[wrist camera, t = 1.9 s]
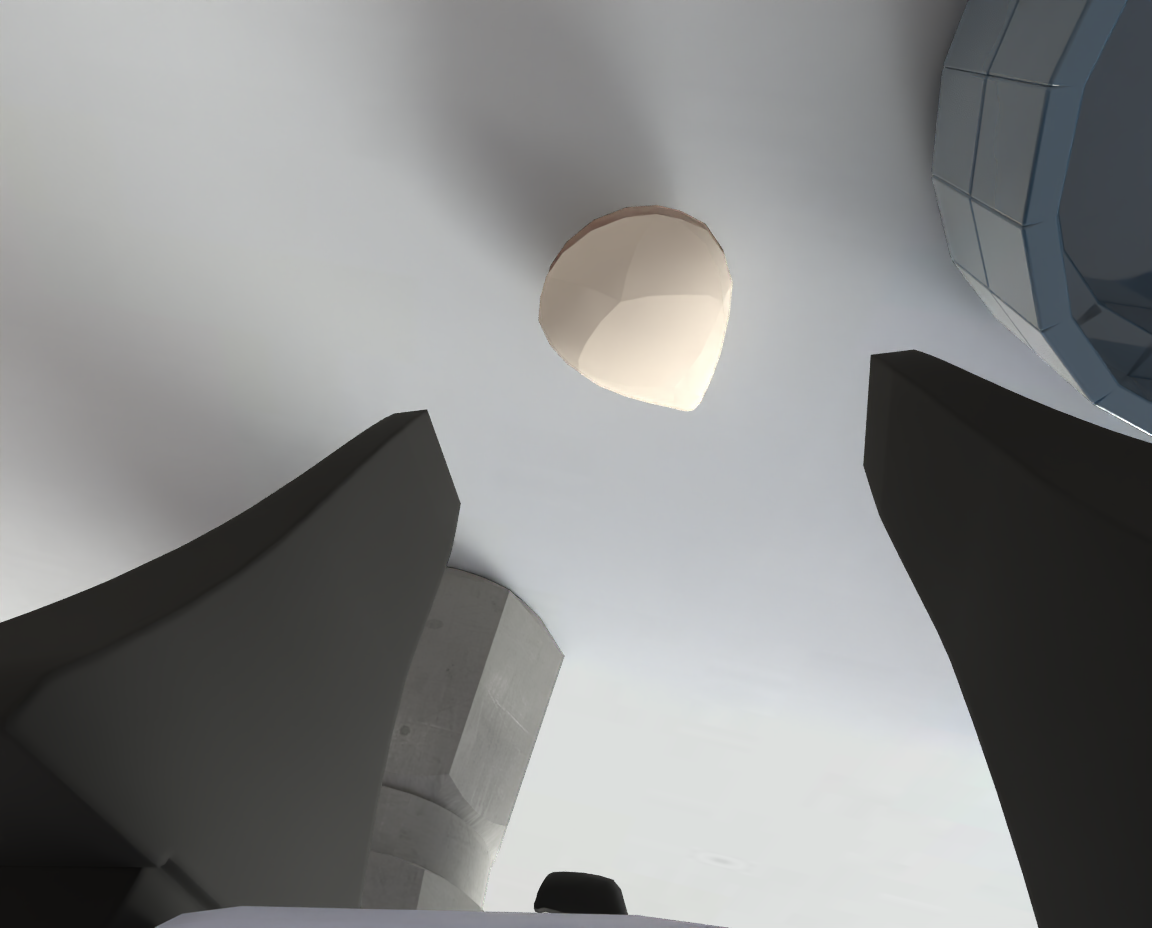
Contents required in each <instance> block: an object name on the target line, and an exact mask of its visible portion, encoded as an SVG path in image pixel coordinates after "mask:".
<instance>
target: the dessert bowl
mask: <svg viewBox="0 0 1152 928" xmlns="http://www.w3.org/2000/svg"><path fill="white" fill-rule="evenodd" d="M943 66H944V67H945V68H943V71H942V77H941V86H940V96H939V105H938V115H937V124H936V134H935V143H934V153H933V162H932V174H933V175H932V182H933V186H934V190H935V194H936V198H937V203H938V207H939V211H940V215H941V219H942V224H943V228H944V232H945V236H946V240H947V245H948V249H949V253H950V257H951V258H952V259H953V263H954V264H955V265H956V267H957V268H958V269H959V271H960V272H961V273H962V275H963V276H964V277H965V279H966V280H967V281H968V283H969V284H970V285H971V287H972V288H973V289H974V291H975V292H976V293H977V295H978V296H979V297H980V299H981V300H982V301H983V303H984V304H985V305H986V307H987V308H988V309H989V311H990V312H991V313H992V315H993V316H994V317H995V318H996V319H997V320H998V321H999V322H1000V323H1002V324H1003V325H1004V326H1005V327H1006V328H1007V329H1008V330H1009V331H1011V332H1012V333H1013V334H1014V335H1015V336H1016V337H1017V338H1018V339H1020V340H1021V341H1022V342H1023V343H1024V344H1025V345H1026V346H1027V347H1029V348H1030V349H1031V350H1032V351H1033V352H1034V353H1035V354H1036V355H1038V356H1039V357H1040V358H1041V359H1042V360H1043V361H1044V362H1045V363H1047V364H1048V365H1049V366H1050V367H1051V368H1052V369H1053V370H1054V371H1056V372H1057V373H1058V374H1059V375H1060V376H1061V377H1062V378H1063V379H1065V380H1066V381H1067V382H1068V383H1069V384H1070V385H1071V386H1072V387H1074V388H1075V389H1076V390H1077V391H1078V392H1079V393H1080V394H1082V395H1083V396H1084V397H1085V398H1086V399H1087V400H1088V401H1089V402H1091V403H1092V404H1093V405H1094V406H1096V407H1098V408H1100V409H1102V410H1103V411H1105V412H1107V413H1109V414H1111V415H1113V416H1114V417H1116V418H1118V419H1120V420H1122V421H1124V422H1125V423H1127V424H1129V425H1131V426H1133V427H1135V428H1136V429H1138V430H1140V431H1142V432H1144V433H1146V434H1147V435H1149V436H1151V437H1152V0H968V2H967V4H966V7H965V10H964V12H963V15H962V17H961V20H960V23H959V25H958V28H957V30H956V33H955V35H954V38H953V41H952V43H951V46H950V48H949V51H948V53H947V56H946V59H945V61H944V65H943Z"/></svg>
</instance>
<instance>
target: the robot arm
mask: <svg viewBox="0 0 1152 928" xmlns="http://www.w3.org/2000/svg"><path fill="white" fill-rule="evenodd" d="M863 466H864V469H865V472H866V476H867V479H868V482H869V485H870V489H871V492H872V495H873V498H874V501H875V504H876V507H877V510H878V513H879V516H880V518H881V520H882V522H883V524H884V526H885V528H886V531H887V533H888V535H889V537H890V539H891V541H892V543H893V545H894V547H895V549H896V551H897V553H898V555H899V557H900V559H901V561H902V563H903V565H904V567H905V569H906V571H907V573H908V575H909V577H910V578H911V580H912V582H913V584H914V586H915V588H916V590H917V592H918V594H919V596H920V598H921V600H922V602H923V604H924V606H925V608H926V610H927V612H928V614H929V616H930V618H931V620H932V622H933V624H934V626H935V628H936V630H937V632H938V634H939V636H940V639H941V641H942V643H943V645H944V648H945V650H946V652H947V654H948V656H949V659H950V661H951V664H952V667H953V669H954V672H955V675H956V677H957V680H958V683H959V686H960V688H961V691H962V694H963V697H964V699H965V702H966V705H967V707H968V710H969V713H970V716H971V718H972V721H973V724H974V727H975V730H976V733H977V736H978V739H979V741H980V744H981V747H982V750H983V753H984V756H985V759H986V762H987V765H988V768H989V771H990V773H991V776H992V779H993V782H994V785H995V788H996V791H997V794H998V797H999V801H1000V804H1001V807H1002V810H1003V813H1004V816H1005V819H1006V823H1007V826H1008V829H1009V832H1010V835H1011V838H1012V841H1013V845H1014V848H1015V851H1016V854H1017V857H1018V860H1019V864H1020V867H1021V870H1022V873H1023V876H1024V880H1025V883H1026V887H1027V890H1028V893H1029V897H1030V900H1031V904H1032V907H1033V911H1034V914H1035V917H1036V921H1037V924H1038V928H1152V443H1149V442H1146V441H1142V440H1139V439H1136V438H1132V437H1129V436H1126V435H1123V434H1120V433H1117V432H1114V431H1111V430H1108V429H1106V428H1103V427H1100V426H1097V425H1095V424H1092V423H1089V422H1087V421H1084V420H1081V419H1079V418H1076V417H1074V416H1071V415H1068V414H1066V413H1063V412H1060V411H1058V410H1055V409H1053V408H1050V407H1048V406H1045V405H1043V404H1040V403H1038V402H1036V401H1033V400H1031V399H1028V398H1026V397H1024V396H1021V395H1019V394H1017V393H1015V392H1012V391H1010V390H1008V389H1005V388H1003V387H1001V386H999V385H996V384H994V383H992V382H990V381H988V380H985V379H983V378H981V377H979V376H977V375H974V374H972V373H970V372H968V371H966V370H963V369H961V368H959V367H957V366H955V365H952V364H950V363H948V362H946V361H943V360H941V359H939V358H936V357H934V356H931V355H929V354H926V353H923V352H920V351H917V350H907V351H899V352H891V353H882V354H874V355H871V361H870V376H869V391H868V405H867V420H866V434H865V449H864V463H863ZM460 504H461V503H460V500H459V498H458V495H457V492H456V489H455V486H454V484H453V481H452V478H451V475H450V472H449V470H448V467H447V464H446V461H445V458H444V456H443V453H442V450H441V447H440V444H439V442H438V439H437V436H436V433H435V430H434V428H433V425H432V422H431V419H430V416H429V414H428V411H427V410H419V411H411V412H403V413H395V414H392V415H390V416H388V417H386V418H384V419H383V420H381V421H379V422H378V423H376V424H374V425H373V426H371V427H370V428H368V429H367V430H365V431H364V432H362V433H361V434H359V435H358V436H356V437H355V438H353V439H352V440H350V441H349V442H347V443H346V444H345V445H343V446H342V447H340V448H339V449H337V450H336V451H335V452H333V453H332V454H330V455H329V456H327V457H326V458H325V459H323V460H322V461H320V462H319V463H317V464H316V465H315V466H313V467H312V468H310V469H309V470H307V471H306V472H305V473H303V474H302V475H300V476H299V477H297V478H296V479H294V480H292V481H291V482H289V483H288V484H286V485H285V486H283V487H282V488H280V489H279V490H277V491H276V492H274V493H273V494H271V495H270V496H268V497H266V498H265V499H263V500H262V501H260V502H259V503H257V504H256V505H254V506H253V507H251V508H249V509H248V510H246V511H244V512H243V513H241V514H239V515H238V516H236V517H234V518H233V519H231V520H229V521H227V522H226V523H224V524H222V525H220V526H219V527H217V528H215V529H213V530H211V531H209V532H208V533H206V534H204V535H202V536H200V537H198V538H197V539H195V540H193V541H191V542H189V543H187V544H185V545H183V546H181V547H179V548H177V549H175V550H173V551H171V552H169V553H167V554H165V555H163V556H160V557H158V558H156V559H154V560H152V561H150V562H148V563H146V564H143V565H141V566H139V567H137V568H135V569H133V570H131V571H129V572H126V573H124V574H122V575H120V576H118V577H116V578H114V579H111V580H109V581H107V582H104V583H102V584H100V585H97V586H95V587H92V588H90V589H87V590H85V591H83V592H80V593H78V594H75V595H73V596H70V597H68V598H65V599H63V600H60V601H58V602H55V603H52V604H50V605H47V606H45V607H42V608H39V609H37V610H34V611H32V612H29V613H26V614H23V615H21V616H18V617H15V618H12V619H10V620H7V621H4V622H1V623H0V928H727V927H719V926H712V925H705V924H698V923H690V922H683V921H676V920H668V919H661V918H654V917H646V916H639V915H609V914H566V913H522V912H479V911H436V910H393V909H361V904H362V897H363V890H364V883H365V876H366V869H367V863H368V857H369V852H370V846H371V840H372V835H373V829H374V824H375V818H376V812H377V807H378V801H379V795H380V791H381V786H382V781H383V777H384V772H385V767H386V762H387V758H388V753H389V748H390V743H391V739H392V734H393V730H394V726H395V722H396V718H397V714H398V710H399V705H400V701H401V697H402V693H403V689H404V685H405V681H406V678H407V675H408V672H409V669H410V665H411V662H412V659H413V656H414V654H415V651H416V648H417V645H418V643H419V640H420V637H421V635H422V632H423V629H424V626H425V624H426V621H427V618H428V615H429V613H430V610H431V607H432V605H433V602H434V599H435V596H436V594H437V591H438V588H439V585H440V583H441V580H442V577H443V574H444V571H445V568H446V566H447V563H448V560H449V557H450V554H451V551H452V546H453V541H454V537H455V532H456V527H457V521H458V515H459V510H460Z"/></svg>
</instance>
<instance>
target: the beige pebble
mask: <svg viewBox="0 0 1152 928" xmlns="http://www.w3.org/2000/svg"><path fill="white" fill-rule="evenodd" d="M732 284H733V282H732V279H731V276H730V272H729V269H728V265H727V262H726V258H725V255H724V252H723V249H722V248H721V246H720V245H719V243H718V242H717V240H716V239H715V237H714V236H713V234H712V233H711V231H710V230H709V229H708V227H707V226H706V224H705V223H703V222H701V221H699V220H697V219H695V218H693V217H691V216H690V215H688V214H686V213H684V212H682V211H680V210H676V209H671V208H667V207H662V206H658V205H652V206H638V207H626V208H623V209H621V210H618V211H616V212H613V213H611V214H608V215H605V216H603V217H600V218H598V219H595V220H593V221H592V222H591V223H589V224H588V225H587V226H586V227H584V228H583V229H582V230H581V231H579V232H578V233H577V234H576V235H575V236H573V237H572V238H571V239H570V240H568V241H567V242H566V244H565V245H564V247H563V248H562V250H561V251H560V252H559V254H558V255H557V257H556V258H555V260H554V261H553V263H552V264H551V266H550V269H549V273H548V275H547V276H546V279H545V283H544V286H543V289H542V293H541V296H540V308H539V320H538V321H539V323H540V325H541V327H542V329H543V331H544V333H545V335H546V338H547V340H548V342H549V344H550V345H551V347H552V348H553V349H554V350H555V351H556V352H557V353H558V355H559V356H560V357H561V358H562V359H563V360H564V361H565V362H566V363H567V364H568V365H569V366H571V367H573V368H574V369H575V370H577V371H578V372H579V373H580V374H582V375H583V376H585V377H586V378H588V379H589V380H591V381H592V382H594V383H595V384H597V385H598V386H601V387H603V388H605V389H608V390H610V391H613V392H615V393H618V394H620V395H623V396H625V397H629V398H633V399H636V400H640V401H643V402H647V403H651V404H656V405H661V406H666V407H670V408H674V409H678V410H682V411H691V410H694V409H695V408H696V407H697V406H698V405H699V404H700V403H701V401H702V399H703V396H704V394H705V392H706V390H707V388H708V386H709V383H710V381H711V379H712V377H713V374H714V372H715V369H716V366H717V363H718V360H719V357H720V354H721V350H722V346H723V341H724V337H725V332H726V328H727V323H728V319H729V314H730V304H731V294H732Z"/></svg>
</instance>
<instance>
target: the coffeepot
mask: <svg viewBox="0 0 1152 928" xmlns="http://www.w3.org/2000/svg"><path fill="white" fill-rule="evenodd" d="M563 659H564V655H563V653H562V651H561V650H560V648H559V647H558V645H557V644H556V642H555V641H554V639H553V637H552V636H551V634H550V633H549V631H548V630H547V628H546V627H545V625H544V624H543V622H542V621H541V619H540V618H539V616H538V615H537V614H536V613H535V612H534V611H533V610H532V609H531V608H530V607H529V606H528V605H527V604H526V603H525V602H523V601H522V600H521V599H519V598H518V597H516V596H515V595H514V594H513V593H512V592H511V591H510V590H509V589H507V588H505V587H503V586H500V585H498V584H496V583H494V582H492V581H490V580H487V579H485V578H483V577H480V576H477V575H474V574H471V573H468V572H465V571H462V570H459V569H454V568H449V567H446V568H445V571H444V574H443V577H442V580H441V583H440V585H439V588H438V591H437V594H436V596H435V599H434V602H433V605H432V607H431V610H430V613H429V615H428V618H427V621H426V624H425V626H424V629H423V632H422V635H421V637H420V640H419V643H418V645H417V648H416V651H415V654H414V656H413V659H412V662H411V665H410V669H409V672H408V675H407V678H406V681H405V685H404V689H403V693H402V697H401V701H400V705H399V710H398V714H397V718H396V722H395V726H394V730H393V734H392V739H391V743H390V748H389V753H388V758H387V762H386V767H385V772H384V777H383V781H382V786H381V791H380V795H379V801H378V807H377V812H376V818H375V824H374V829H373V835H372V840H371V846H370V852H369V857H368V863H367V869H366V876H365V883H364V890H363V897H362V904H361V909H393V910H436V911H479V912H484V911H483V905H484V900H485V895H486V890H487V885H488V880H489V875H490V870H491V867H492V865H493V863H494V862H495V860H496V857H497V854H498V852H499V849H500V847H501V844H502V841H503V838H504V835H505V832H506V829H507V826H508V823H509V820H510V817H511V814H512V811H513V808H514V805H515V802H516V799H517V796H518V793H519V790H520V787H521V784H522V781H523V778H524V775H525V772H526V769H527V766H528V763H529V760H530V757H531V754H532V751H533V748H534V745H535V742H536V739H537V736H538V733H539V730H540V727H541V724H542V721H543V718H544V715H545V712H546V709H547V706H548V703H549V700H550V697H551V694H552V691H553V688H554V685H555V682H556V679H557V676H558V673H559V670H560V668H561V665H562V662H563ZM534 909H535V912H537V913H543V912H548V913H566V914H609V915H628V913H627V910H626V906H625V903H624V899H623V895H622V892H621V889H620V888H619V887H618V885H617V884H616V883H615V882H614V880H612V879H609V878H606V877H602V876H599V875H593V874H587V873H578V872H553V873H550V874H549V875H548V876H547V877H546V878H545V880H544V881H543V883H542V884H541V886H540V888H539V891H538V893H537V897H536V900H535V902H534Z"/></svg>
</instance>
